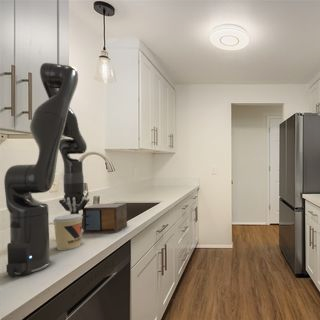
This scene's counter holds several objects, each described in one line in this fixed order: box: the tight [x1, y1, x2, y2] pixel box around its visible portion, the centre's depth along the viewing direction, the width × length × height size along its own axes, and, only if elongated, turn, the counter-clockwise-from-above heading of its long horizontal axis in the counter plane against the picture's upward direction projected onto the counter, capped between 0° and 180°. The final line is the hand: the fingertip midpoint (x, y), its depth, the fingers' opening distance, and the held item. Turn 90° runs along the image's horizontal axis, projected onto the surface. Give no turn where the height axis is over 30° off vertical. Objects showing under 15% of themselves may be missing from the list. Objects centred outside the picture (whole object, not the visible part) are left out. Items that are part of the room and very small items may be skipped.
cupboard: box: [82, 202, 128, 234], centre depth 116 cm, size 10×16×12 cm, turn 89°
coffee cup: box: [53, 213, 83, 251], centre depth 94 cm, size 9×9×12 cm
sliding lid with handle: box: [82, 210, 101, 230], centre depth 110 cm, size 5×7×9 cm
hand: (74, 219), depth 108 cm, fingers closed
